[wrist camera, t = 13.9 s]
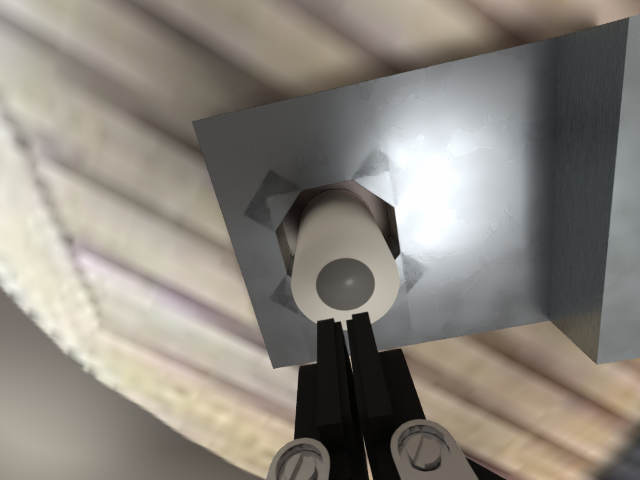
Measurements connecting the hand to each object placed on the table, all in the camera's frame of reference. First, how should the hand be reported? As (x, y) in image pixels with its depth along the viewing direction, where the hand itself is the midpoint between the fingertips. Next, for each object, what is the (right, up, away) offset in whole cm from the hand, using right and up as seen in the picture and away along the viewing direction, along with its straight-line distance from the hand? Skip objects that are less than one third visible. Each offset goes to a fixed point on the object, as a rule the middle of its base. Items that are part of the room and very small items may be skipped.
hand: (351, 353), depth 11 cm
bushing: (0, +5, +12) cm, 13 cm away
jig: (+5, +6, +11) cm, 13 cm away
